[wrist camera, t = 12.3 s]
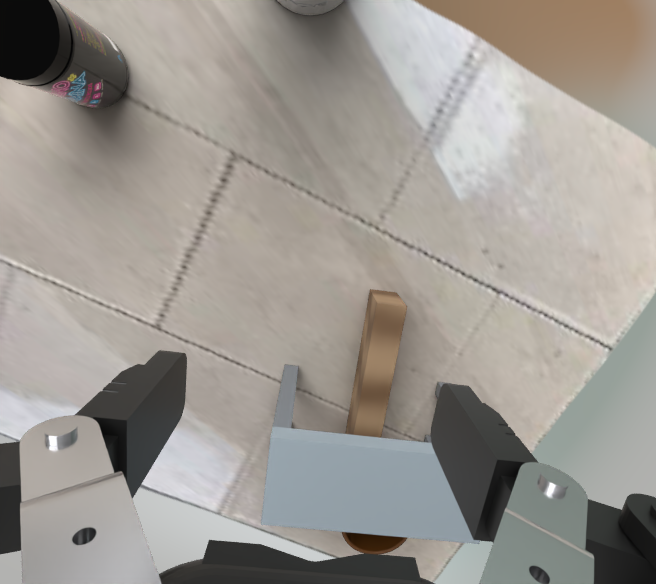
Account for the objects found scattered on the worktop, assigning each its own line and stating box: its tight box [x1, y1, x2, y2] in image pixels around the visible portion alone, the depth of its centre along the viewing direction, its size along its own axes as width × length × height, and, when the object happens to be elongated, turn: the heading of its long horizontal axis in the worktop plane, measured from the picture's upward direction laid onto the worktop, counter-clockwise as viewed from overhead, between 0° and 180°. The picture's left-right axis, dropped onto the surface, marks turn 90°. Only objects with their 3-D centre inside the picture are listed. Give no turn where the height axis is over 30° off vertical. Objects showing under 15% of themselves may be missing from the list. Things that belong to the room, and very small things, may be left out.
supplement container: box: [0, 0, 128, 108], centre depth 31 cm, size 7×7×10 cm
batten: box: [345, 289, 407, 438], centre depth 42 cm, size 19×3×6 cm, turn 172°
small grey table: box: [261, 365, 480, 544], centre depth 40 cm, size 9×20×14 cm, turn 82°
